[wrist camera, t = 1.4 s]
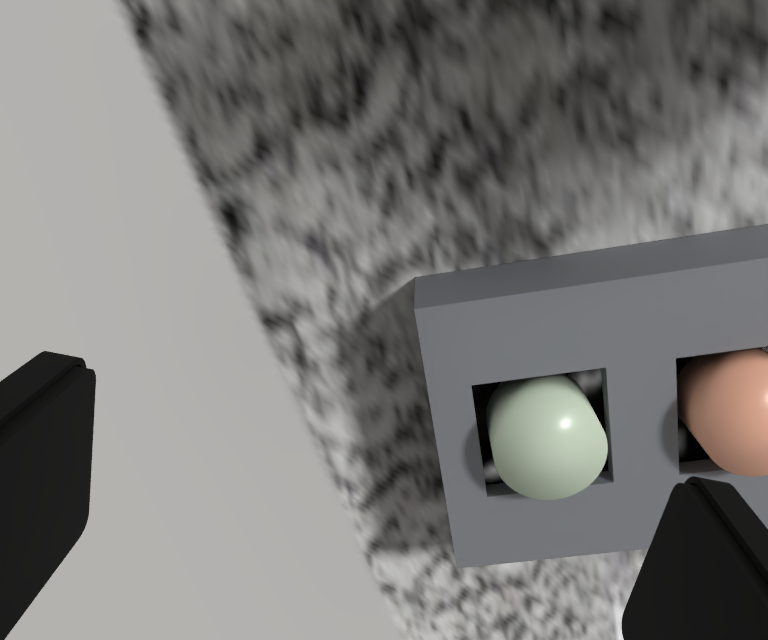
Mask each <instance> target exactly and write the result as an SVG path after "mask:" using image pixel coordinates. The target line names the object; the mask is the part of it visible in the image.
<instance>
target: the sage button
mask: <svg viewBox="0 0 768 640" xmlns="http://www.w3.org/2000/svg"><path fill="white" fill-rule="evenodd" d="M486 422H487V428H488V433H489V438H490V443H491V449H492V454H493V459H494V464H495V467H496V470H497V472H498V474H499V475H500V477H501V478H502V480H503V481H504V482H505V483H506V484H507V485H508V486H509V487H510V488H512V489H513V490H514V491H516V492H518V493H519V494H522V495H524V496H526V497H530V498H533V499H540V500H556V499H561V498H565V497H569V496H571V495H574V494H576V493H578V492H580V491H582V490H583V489H585V488H586V487H588V486H589V485H590V484H591V483H592V482H593V481H594V480H595V479H596V478H597V477H598V475H599V474H600V472H601V471H602V469H603V467H604V465H605V462H606V458H607V452H608V444H607V438H606V435H605V432H604V430H603V428H602V426H601V424H600V422H599V420H598V418H597V416H596V414H595V412H594V410H593V408H592V406H591V405H590V403H589V401H588V399H587V397H586V395H585V393H584V391H583V390H582V388H581V387H580V385H579V384H578V383H577V382H576V381H575V380H573V379H572V378H571V377H569V376H568V375H566V374H564V373H562V374H554V375H547V376H539V377H531V378H524V379H516V380H509V381H503V382H502V383H501V384H500V385H499V386H498V387H497V388H496V389H495V390H494V392H493V393H492V395H491V397H490V399H489V402H488V405H487V409H486Z"/></svg>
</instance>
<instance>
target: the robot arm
mask: <svg viewBox="0 0 768 640" xmlns="http://www.w3.org/2000/svg"><path fill="white" fill-rule="evenodd" d="M95 386H96V375H95V372H94V370H93V369H87V368H86V364H85V361H84V360H83V359H82V358H78V357H73V356H68V355H63V354H57V353H53V352H47V351H44V352H41V353H40V354H38V355H37V356H35V357H34V358H33V359H31V360H30V361H29V362H27V363H26V364H24V365H23V366H21V367H20V368H19V369H17V370H16V371H15V372H13V373H12V374H10V375H9V376H8V377H6V378H5V379H3V380H2V381H1V382H0V640H4V639H5V638H6V637H7V635H8V634H9V632H10V631H11V630H12V628H13V627H14V626H15V624H16V623H17V622H18V620H19V619H20V618H21V616H22V615H23V614H24V612H25V611H26V609H27V608H28V607H29V605H30V604H31V603H32V601H33V600H34V598H35V597H36V596H37V595H38V593H39V592H40V591H41V589H42V588H43V587H44V585H45V584H46V582H47V581H48V580H49V578H50V577H51V576H52V574H53V573H54V572H55V570H56V569H57V568H58V566H59V565H60V564H61V562H62V561H63V559H64V558H65V557H66V555H67V554H68V553H69V551H70V550H71V549H72V547H73V546H74V545H75V543H76V542H77V541H78V539H79V538H80V536H81V535H82V532H83V531H84V529H85V526H86V523H87V520H88V515H89V502H90V501H89V500H90V482H91V463H92V462H91V461H92V442H93V424H94V404H95ZM622 634H623V638H624V640H768V529H767V528H766V526H765V525H764V524H763V523H762V521H761V520H760V519H759V518H758V516H757V515H756V514H755V512H754V511H753V510H752V509H751V507H750V506H749V505H748V504H747V502H746V501H745V500H744V499H743V497H742V496H741V495H740V494H739V492H738V491H737V490H736V489H735V487H734V486H732V485H731V484H730V483H726V482H721V481H716V480H711V479H706V478H701V477H695V476H692V477H689V478H688V479H687V480H686V481H685V483H678V484H676V485H675V486H674V488H673V490H672V491H671V494H670V497H669V499H668V502H667V504H666V507H665V509H664V512H663V514H662V517H661V519H660V522H659V524H658V527H657V529H656V532H655V534H654V537H653V539H652V542H651V544H650V547H649V550H648V552H647V555H646V557H645V560H644V562H643V565H642V567H641V570H640V572H639V575H638V577H637V580H636V582H635V585H634V587H633V590H632V592H631V595H630V598H629V600H628V603H627V605H626V608H625V610H624V613H623V617H622Z"/></svg>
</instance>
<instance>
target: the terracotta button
mask: <svg viewBox="0 0 768 640" xmlns="http://www.w3.org/2000/svg"><path fill="white" fill-rule="evenodd" d="M676 381H677V413H678V415H679V417H680V418H681V420H682V421H683V422H684V424H685V425H686V426H687V428H688V429H689V430H690V432H691V433H692V434H693V436H694V437H695V438H696V440H697V441H698V442H699V443H700V445H701V446H702V447H703V449H704V450H705V451H706V453H707V454H708V455H709V457H710V458H711V459H712V460H713V461H714V462H715V463H716V464H717V465H718V466H720V467H721V468H723V469H724V470H726V471H728V472H731V473H733V474H737V475H741V476H750V477H757V476H766V475H768V352H766V351H765V350H763V349H762V348H760V347H758V348H750V349H743V350H735V351H728V352H720V353H712V354H705V355H697V356H694V357H693V358H692V359H691V360H690V361H689V362H688V363H687V364H686V365H685V366H684V368H683V369H682V371H681V372H680V374H679V376H678V378H677V380H676Z"/></svg>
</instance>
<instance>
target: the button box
mask: <svg viewBox="0 0 768 640" xmlns="http://www.w3.org/2000/svg"><path fill="white" fill-rule="evenodd" d="M414 312H415V318H416V324H417V330H418V336H419V342H420V348H421V354H422V360H423V366H424V372H425V378H426V384H427V390H428V396H429V402H430V408H431V414H432V421H433V427H434V433H435V439H436V445H437V451H438V457H439V463H440V469H441V475H442V481H443V487H444V493H445V499H446V505H447V511H448V517H449V523H450V529H451V535H452V541H453V547H454V553H455V559H456V565H457V568H465V567H474V566H484V565H494V564H503V563H513V562H523V561H532V560H542V559H551V558H561V557H571V556H580V555H590V554H599V553H609V552H619V551H628V550H638V549H648V548H649V547H650V544H651V542H652V539H653V537H654V534H655V532H656V529H657V527H658V524H659V522H660V519H661V517H662V514H663V512H664V509H665V507H666V504H667V502H668V499H669V497H670V494H671V491H672V490H673V488H674V486H675V485H676V484H678V483H685V481H686V480H687V479H688V478H689V477H692V476H695V477H701V478H706V479H711V480H716V481H721V482H726V483H730V484H731V485H732V486H734V487H735V489H736V490H737V491H738V492H739V494H740V495H741V496H742V497H743V499H744V500H745V501H746V502H747V504H748V505H749V506H750V507H751V509H752V510H753V511H754V512H755V514H756V515H757V516H758V518H759V519H760V520H761V521H762V523H763V524H764V525H765V526H766V528H767V529H768V475H766V476H757V477H750V476H741V475H737V474H733V473H731V472H728V471H726V470H724V469H723V468H721V467H720V466H718V465H717V464H716V463H715V462H714V461H713V460H712V459H706V460H697V461H689V462H680V463H679V448H678V415H677V381H676V358H682V357H690V356H697V355H705V354H712V353H720V352H728V351H735V350H743V349H750V348H758V347H765V346H768V224H765V225H758V226H752V227H745V228H739V229H732V230H725V231H719V232H712V233H705V234H699V235H692V236H686V237H679V238H672V239H666V240H659V241H652V242H646V243H639V244H633V245H626V246H619V247H613V248H606V249H599V250H593V251H586V252H580V253H573V254H566V255H560V256H553V257H546V258H540V259H533V260H527V261H520V262H513V263H507V264H500V265H493V266H487V267H480V268H474V269H467V270H460V271H454V272H447V273H440V274H434V275H427V276H421V277H415V294H414ZM599 368H601V373H602V387H603V401H604V415H605V429H606V438H607V444H608V452H607V458H608V471H603V472H600V474H599V475H598V477H597V478H596V479H595V480H594V481H593V482H592V483H591V484H590V485H589V486H588V487H586V488H585V489H583V490H582V491H580V492H578V493H576V494H574V495H571V496H569V497H565V498H561V499H556V500H540V499H533V498H530V497H526V496H524V495H522V494H519V493H518V492H516V491H514V490H513V489H512V488H510V487H509V486H508V485H507V484H506V483H500V484H491V485H485V478H484V471H483V464H482V457H481V450H480V443H479V436H478V429H477V422H476V415H475V408H474V401H473V394H472V386H471V385H479V384H486V383H494V382H501V381H509V380H516V379H524V378H531V377H539V376H547V375H554V374H562V373H569V372H577V371H584V370H592V369H599Z"/></svg>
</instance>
